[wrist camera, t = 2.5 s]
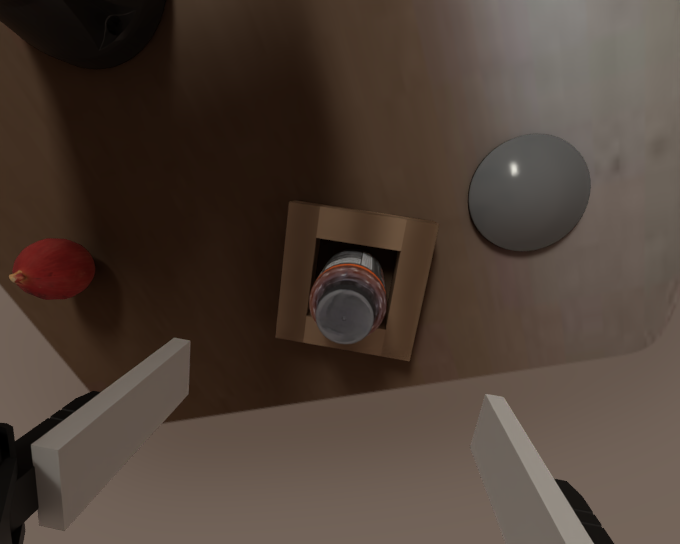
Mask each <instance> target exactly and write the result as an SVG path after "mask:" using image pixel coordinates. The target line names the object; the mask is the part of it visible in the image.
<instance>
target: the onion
mask: <svg viewBox="0 0 680 544" xmlns="http://www.w3.org/2000/svg"><path fill="white" fill-rule="evenodd" d="M12 272H13V274H11V275H9V278H10V280H11V281H12V282H14V283H16V284H17V286H19V287H20V288H21V289H22V290H23V291H25V292H26V293H28V294H31V295H34V296H36V297H39V298H41V299H46V300H49V299H67V298H70V297H73V296H75V295H77V294H78V293H80V292H82V291H83V290H85V289H86V288H87V287H88V285H89V284H90V283H91V281H92V280H93V278H94V274H95V264H94V260H93V258H92V256H91V254H90V253H89V252H88V251H87V250H86V249H85V248H84V247H83V246H82V245H80V244H77V243H75V242H72V241H70V240H67V239H44V240H40V241H38V242H36V243H33V244H31V245H29V246H28V247H26V248H25V249H24V250H23V251H22V252H21V253H20V254H19V256H18V257H17V258H16V260H15V262H14V266H13V271H12Z"/></svg>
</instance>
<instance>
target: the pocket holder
mask: <svg viewBox="0 0 680 544" xmlns="http://www.w3.org/2000/svg"><path fill="white" fill-rule="evenodd" d="M438 228H439V224H437V223H436V222H434V221H430V220H423V219H417V218H410V217H403V216H397V215H390V214H383V213H377V212H370V211H364V210H357V209H350V208H344V207H337V206H331V205H324V204H317V203H311V202H304V201H298V200H296V201H291V202H289V207H288V217H287V227H286V237H285V247H284V256H283V266H282V276H281V286H280V296H279V306H278V316H277V326H276V335H275V338H280V339H285V340H291V341H297V342H302V343H308V344H314V345H319V346H325V347H331V348H336V349H342V350H348V351H353V352H359V353H365V354H370V355H376V356H382V357H387V358H393V359H399V360H405V361H410V357H411V353H412V348H413V344H414V339H415V334H416V330H417V325H418V320H419V316H420V311H421V307H422V302H423V297H424V293H425V288H426V284H427V279H428V274H429V270H430V265H431V261H432V256H433V251H434V247H435V242H436V237H437V233H438ZM321 239H327V240H333V241H340V242H346V243H352V244H359V245H365V246H371V247H378V248H384V249H390V250H397V256H396V261H395V266H394V272H393V277H392V282H391V287H390V293H389V298H388V303H387V309H386V314H385V318H384V319H383V321H382V323H381V324H380V325H379V327H378V328H377V329H376V330H375V331H374V332H372V333H371V334H370V335H368V336H366V337H365V338H364V339H362V340H361V341H358V342H356V343H353V344H338V343H335V342H333V341H331V340H329V339H328V338H326V337H325V336H324V335H323V334H322V333H321V331H320V330H319V328H318V326H317V324H316V323H315V321H314V319H313V318H312V315H311V312H310V307H309V298H310V292H311V289H312V287H313V285H314V283H315V279H316V271H317V263H318V255H319V248H320V240H321Z"/></svg>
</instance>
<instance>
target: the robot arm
mask: <svg viewBox="0 0 680 544" xmlns="http://www.w3.org/2000/svg"><path fill="white" fill-rule="evenodd" d="M164 5H165V0H0V21H1V22H2V23H4V24H5V25H6V26H7V27H9V28H10V29H11V30H12V31H14V32H15V33H16V34H17V35H19V36H20V37H21V38H22V39H23V40H25V41H26V42H27V43H29V44H30V45H32V46H33V47H35V48H37V49H38V50H40V51H42V52H44V53H45V54H48V55H50V56H52V57H55V58H57V59H60V60H62V61H64V62H67V63H69V64H72V65H75V66H79V67H83V68H89V69H103V68H109V67H113V66H116V65H119V64H121V63H124V62H126V61H127V60H129V59H131V58H132V57H133V56H135V55H136V54H137V53H138V52H139V51H141V49H142V48H143V47H144V46H145V45H146V44H147V43H148V41H149V40H150V38H151V37H152V35H153V34H154V32H155V30H156V28H157V26H158V24H159V21H160V19H161V16H162V13H163V9H164ZM189 368H190V340H184V339H179V338H173V339H172V340H170V341H169V342H168V343H166V344H165V345H164V346H162V347H161V348H160V349H158V350H157V351H156V352H154V353H153V354H152V355H150V356H149V357H148V358H146V359H145V360H144V361H142V362H141V363H140V364H138V365H137V366H136V367H134V368H133V369H132V370H130V371H129V372H128V373H126V374H125V375H124V376H122V377H121V378H120V379H118V380H117V381H116V382H114V383H113V384H111V385H110V386H109V387H107V388H106V389H105V390H103V391H102V392H97V391H92V392H90V393H87V394H85V395H83V396H80V397H78V398H76V399H75V400H73V401H72V402H70V403H69V404H67V405H66V406H65V407H63V408H62V410H59V411H58V412H56V413H55V414H53V415H52V416H51V418H50V419H49V418H48V419H46V420H45V421H43V422H42V423H41V424H39V425H38V426H36V427H35V428H33V429H32V430H31V431H29V432H28V433H26V434H25V435H24V436H22V437H21V438H19V439H18V440H16V441H15V440H14V432H13V427H12V426H11V425H9V424H7V423H0V544H23V540H24V535H25V524H24V522H25V521H26V520H27V519H28V518H29V517H30V516H31V515H32V514H33V513H34V512H35V511H36V510H37V509H38V518H39V525H40V526H44V527H48V528H53V529H58V530H62V531H65V530H66V529H67V528H68V527H69V526H70V524H71V523H72V522H73V521H74V520H75V519H76V518H77V517H78V516H79V515H80V513H81V512H82V511H83V510H84V509H85V508H86V507H87V506H88V505H89V503H90V502H91V501H92V500H93V499H94V498H95V497H96V496H97V495H98V493H99V492H100V491H101V490H102V489H103V488H104V487H105V486H106V485H107V484H108V482H109V481H110V480H111V479H112V478H113V477H114V476H115V475H116V474H117V472H118V471H119V470H120V469H121V468H122V467H123V466H124V465H125V464H126V463H127V461H128V460H129V459H130V458H131V457H132V456H133V455H134V454H135V453H136V452H137V450H138V449H139V448H140V447H141V446H142V445H143V444H144V443H145V442H146V440H147V439H148V438H149V437H150V436H151V435H152V434H153V433H154V431H155V430H156V429H157V428H158V427H159V426H160V425H161V424H162V423H163V422H164V421H165V419H166V418H167V417H168V416H169V415H170V414H171V413H172V412H173V411H174V409H175V408H176V407H177V406H178V405H179V404H180V403H181V402H182V401H183V400H184V398H185V397H186V396H187V395H188V394H189ZM470 448H471V451H472V454H473V457H474V459H475V462H476V465H477V467H478V470H479V473H480V476H481V478H482V481H483V484H484V486H485V489H486V492H487V495H488V497H489V500H490V503H491V506H492V508H493V511H494V514H495V517H496V519H497V522H498V524H499V527H500V530H501V533H502V536H503V538H504V541H505V544H614V543H613V541H612V540H611V538H610V537H609V536H608V534H607V532H606V531H605V530H604V528H602V527H601V523H600V522H599V521H598V519H597V518H596V516H595V515H593V513H592V510H591V509H590V507H589V506H588V504H587V503H586V501H585V500H584V498H583V497H582V496H581V495H580V494H579V493H578V492H577V491H576V490H575V489H574V488H573V487H572V486H571V485H570V484H569V483H568V482H567V481H563V480H558V479H554V478H553V477H552V475H551V473H550V472H549V470H548V469H547V467H546V465H545V464H544V462H543V460H542V459H541V457H540V455H539V454H538V452H537V451H536V449H535V447H534V446H533V444H532V442H531V441H530V439H529V438H528V436H527V434H526V433H525V431H524V429H523V428H522V426H521V425H520V423H519V421H518V420H517V418H516V417H515V415H514V413H513V412H512V410H511V408H510V407H509V405H508V403H507V402H506V400H505V399H504V397H500V396H495V395H489V394H485V397H484V400H483V404H482V407H481V411H480V414H479V418H478V421H477V425H476V428H475V432H474V436H473V439H472V443H471V446H470Z"/></svg>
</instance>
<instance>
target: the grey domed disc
mask: <svg viewBox="0 0 680 544" xmlns="http://www.w3.org/2000/svg"><path fill="white" fill-rule="evenodd" d="M590 188H591V185H590V175H589V170H588V167H587V165H586V162H585V160H584V158H583V157H582V156H581V154H580V153H579V152H578V151H577V150H576V149H575V147H573V146H572V145H571V144H569V143H568V142H566V141H565V140H563V139H561V138H558V137H555V136H552V135H547V134H528V135H523V136H520V137H517V138H514V139H511V140H508V141H506V142H504V143H502V144H501V145H499V146H498V147H496V148H495V149H494V150H492V151H491V152H490V153H489V154H488V155H487V156H486V157H485V158H484V159H483V160H482V162H481V163H480V164H479V166H478V167H477V169H476V171H475V173H474V175H473V177H472V179H471V183H470V186H469V192H468V208H469V212H470V216H471V219H472V221H473V223H474V225H475V227H476V228H477V230H478V231H479V232H480V233H481V234H482V235H483V236H484V237H485V238H486V239H487V240H489V241H490V242H492V243H494V244H495V245H497V246H499V247H502V248H505V249H509V250H513V251H531V250H537V249H541V248H544V247H546V246H549V245H551V244H553V243H555V242H557V241H558V240H560V239H561V238H563V237H564V236H565V235H566V234H568V233H569V232H570V231H571V230H572V229H573V228H574V226H575V225H576V224H577V223H578V221H579V220H580V218H581V217H582V215H583V213H584V211H585V209H586V206H587V204H588V200H589V196H590Z"/></svg>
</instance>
